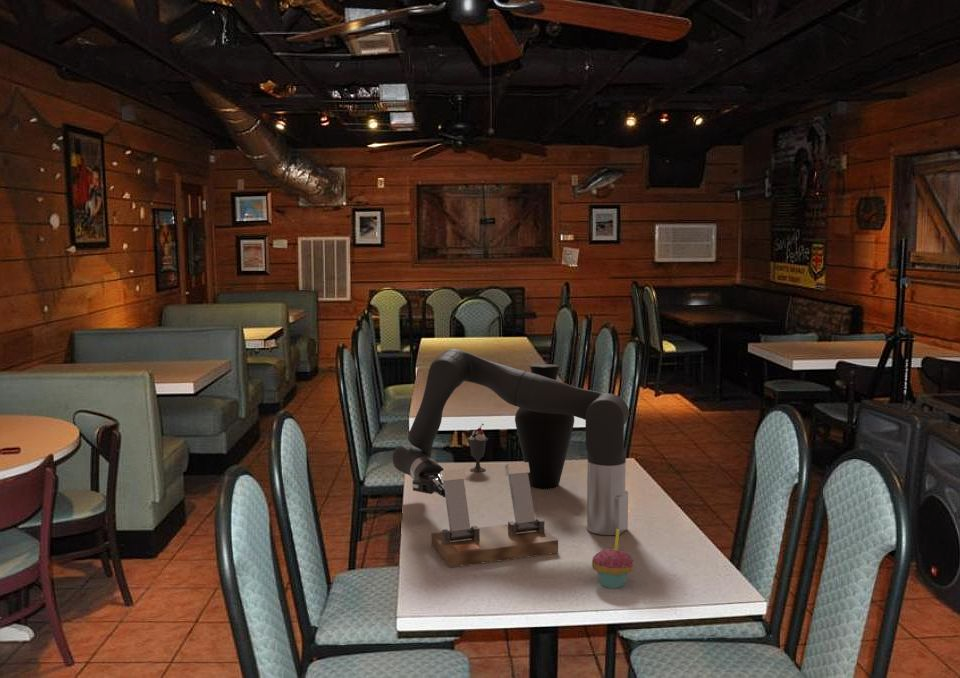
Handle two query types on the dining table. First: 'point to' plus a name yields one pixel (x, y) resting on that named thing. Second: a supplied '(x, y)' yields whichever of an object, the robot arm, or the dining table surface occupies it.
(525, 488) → the inner lever
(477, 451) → the sundae
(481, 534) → the switch base
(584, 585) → the dining table surface
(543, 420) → the vase
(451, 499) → the outer lever
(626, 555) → the cupcake
